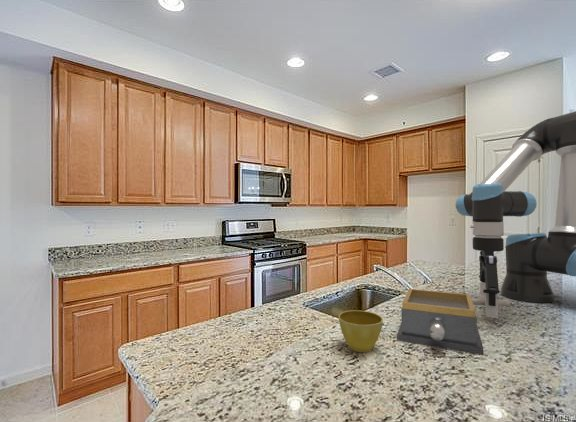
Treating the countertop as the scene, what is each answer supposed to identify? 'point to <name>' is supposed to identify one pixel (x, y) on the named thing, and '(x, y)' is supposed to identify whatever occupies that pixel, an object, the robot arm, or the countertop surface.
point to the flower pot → (360, 329)
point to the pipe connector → (482, 302)
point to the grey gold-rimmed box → (440, 320)
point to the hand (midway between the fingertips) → (488, 310)
